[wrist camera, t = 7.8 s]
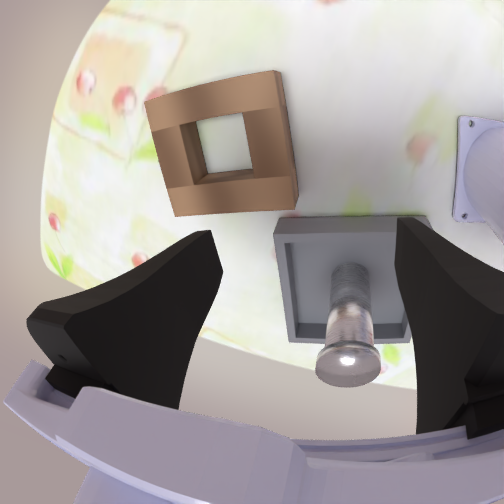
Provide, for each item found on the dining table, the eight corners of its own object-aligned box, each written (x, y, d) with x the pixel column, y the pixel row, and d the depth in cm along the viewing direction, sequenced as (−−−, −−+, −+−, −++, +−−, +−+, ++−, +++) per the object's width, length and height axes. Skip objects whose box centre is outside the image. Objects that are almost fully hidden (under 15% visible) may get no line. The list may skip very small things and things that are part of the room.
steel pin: (371, 254, 21) (380, 348, 14) (375, 293, 23) (380, 384, 16) (321, 262, 23) (309, 354, 15) (330, 299, 24) (320, 388, 17)
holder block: (280, 72, 16) (273, 70, 14) (298, 195, 21) (294, 209, 19) (162, 98, 19) (143, 101, 17) (189, 203, 23) (175, 216, 21)
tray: (425, 215, 19) (434, 232, 17) (406, 323, 24) (409, 342, 22) (279, 218, 22) (273, 234, 20) (292, 323, 28) (288, 342, 26)
